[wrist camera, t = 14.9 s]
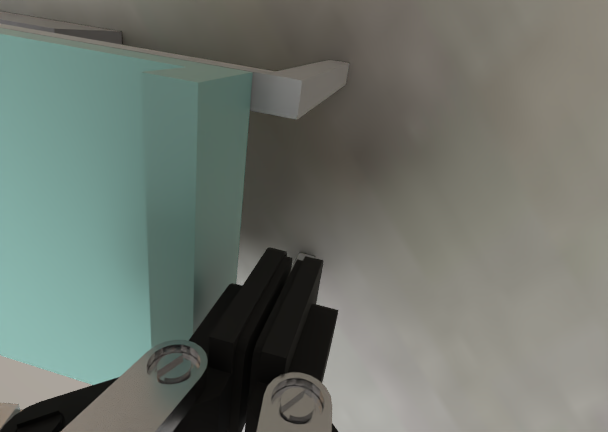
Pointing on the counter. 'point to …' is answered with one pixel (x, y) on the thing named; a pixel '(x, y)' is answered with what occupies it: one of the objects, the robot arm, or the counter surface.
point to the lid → (113, 200)
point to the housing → (265, 83)
